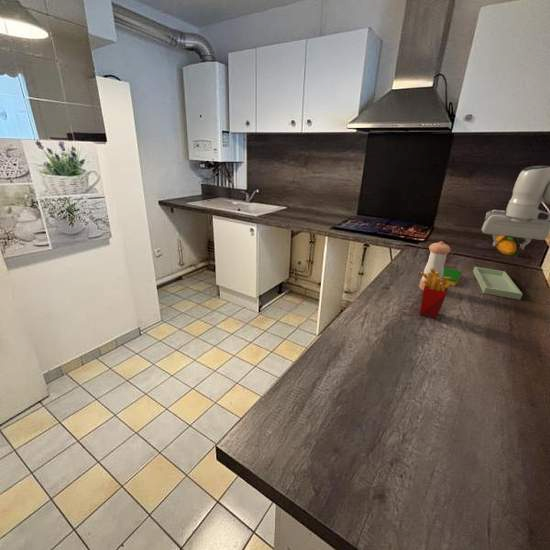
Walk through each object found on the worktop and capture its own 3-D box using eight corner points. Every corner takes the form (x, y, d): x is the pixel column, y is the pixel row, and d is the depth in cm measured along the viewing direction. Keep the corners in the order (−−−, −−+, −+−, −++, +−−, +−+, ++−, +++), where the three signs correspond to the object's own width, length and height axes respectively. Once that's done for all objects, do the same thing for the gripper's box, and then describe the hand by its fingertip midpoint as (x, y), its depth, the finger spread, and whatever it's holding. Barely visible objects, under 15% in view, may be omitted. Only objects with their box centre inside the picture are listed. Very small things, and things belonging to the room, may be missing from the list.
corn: (517, 230, 118) (528, 242, 102) (512, 248, 121) (522, 263, 105) (495, 229, 122) (502, 240, 105) (490, 246, 125) (497, 260, 108)
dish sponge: (460, 276, 126) (462, 271, 125) (454, 286, 116) (456, 281, 116) (442, 272, 130) (444, 267, 130) (435, 281, 121) (436, 276, 120)
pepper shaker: (431, 284, 118) (443, 238, 110) (443, 292, 111) (457, 244, 103) (415, 285, 117) (426, 239, 109) (426, 293, 110) (439, 244, 102)
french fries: (441, 312, 97) (453, 270, 91) (438, 323, 91) (451, 279, 85) (412, 304, 101) (422, 264, 95) (408, 314, 95) (419, 272, 89)
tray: (472, 271, 132) (474, 266, 131) (503, 276, 128) (505, 271, 127) (483, 293, 112) (485, 287, 111) (520, 299, 107) (522, 294, 106)
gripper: (489, 210, 109) (478, 245, 115) (558, 216, 102) (542, 253, 107) (485, 207, 115) (475, 241, 120) (551, 213, 107) (536, 249, 113)
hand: (507, 247), depth 114 cm, fingers closed on corn, 7 cm apart
